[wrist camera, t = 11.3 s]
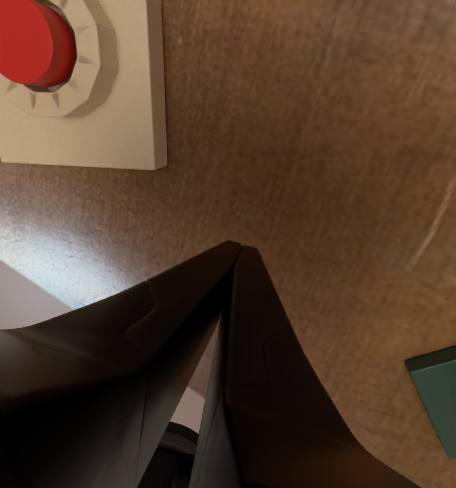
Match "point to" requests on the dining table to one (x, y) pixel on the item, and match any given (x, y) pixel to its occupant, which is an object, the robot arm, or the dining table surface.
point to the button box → (95, 93)
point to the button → (34, 44)
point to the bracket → (438, 392)
